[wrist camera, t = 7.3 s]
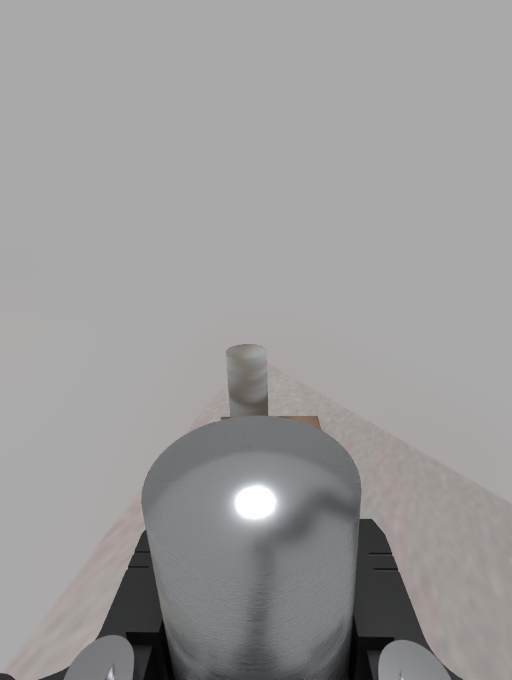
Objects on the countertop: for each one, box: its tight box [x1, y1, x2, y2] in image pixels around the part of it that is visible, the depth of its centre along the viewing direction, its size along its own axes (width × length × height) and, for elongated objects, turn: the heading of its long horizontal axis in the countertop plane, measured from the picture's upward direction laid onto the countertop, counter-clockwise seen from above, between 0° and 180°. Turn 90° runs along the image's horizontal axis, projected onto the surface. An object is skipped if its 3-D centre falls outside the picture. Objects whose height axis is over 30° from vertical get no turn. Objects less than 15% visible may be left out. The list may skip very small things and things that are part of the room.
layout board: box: [215, 344, 321, 430], centre depth 29 cm, size 12×22×12 cm, turn 178°
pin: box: [142, 416, 361, 680], centre depth 8 cm, size 6×6×10 cm
